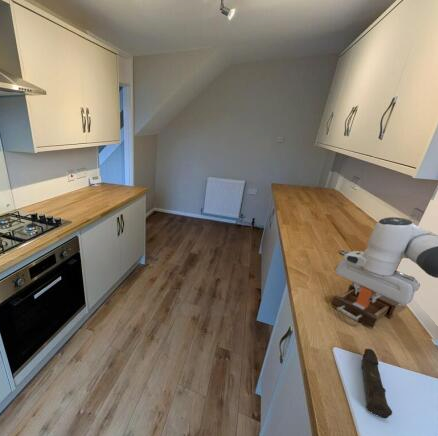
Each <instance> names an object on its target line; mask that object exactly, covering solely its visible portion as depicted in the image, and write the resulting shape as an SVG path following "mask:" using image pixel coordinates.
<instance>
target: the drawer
mask: <svg viewBox="0 0 438 436" xmlns="http://www.w3.org/2000/svg"><path fill="white" fill-rule="evenodd" d="M347 291H348V290H347ZM347 291H346V292H345V293H342V294H341V295H339V296H338V295H334V296H333V298H332V301H331V305H330V306H333V307H335V308H336V311H337V312H339V313H341V314H342V315H344V316H346V317H348V318H350V319H351V320H353V321H355V322H358V321H359V322H361V323H363V324H364V325H367V326H368V327H370V328H372V329H373V328H374V327H375V325H376V323H377V321H379V320H380V319H382V318H383V317H385V316H384V315H385V314H387V312H388V310H389V308H390V306H388V305H386V304H384V303H382V302H380V301H378V300H376V301H375V302H374V303H373V302H371V301H370V303H369V306H368V308H366V309H365V310H362V309H360V308H358V307H356V306H355V305H353V303H355V302H356V301H357V298H358V296H359V295H356V294H355V292H356V290H355V289H352V290H350V291H348V292H347Z"/></svg>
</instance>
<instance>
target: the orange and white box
mask: <svg viewBox="0 0 438 436" xmlns="http://www.w3.org/2000/svg"><path fill="white" fill-rule="evenodd" d="M374 292H375V291H373V290H370V289H368V288H366V287H364V286H363V287H362V288H361V291H360V293H359V296H358V298H357V301H356V302H355V303H353V305H355V306H356V307H358V308H360V309H362V310H365V309H366V308H368V306H369V303H370V301H369V297H370V296H372V295H373V294H374Z"/></svg>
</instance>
